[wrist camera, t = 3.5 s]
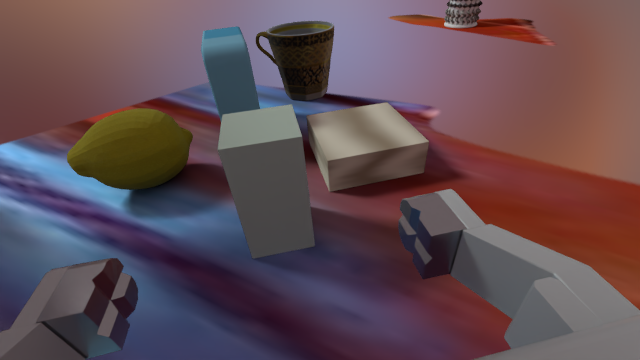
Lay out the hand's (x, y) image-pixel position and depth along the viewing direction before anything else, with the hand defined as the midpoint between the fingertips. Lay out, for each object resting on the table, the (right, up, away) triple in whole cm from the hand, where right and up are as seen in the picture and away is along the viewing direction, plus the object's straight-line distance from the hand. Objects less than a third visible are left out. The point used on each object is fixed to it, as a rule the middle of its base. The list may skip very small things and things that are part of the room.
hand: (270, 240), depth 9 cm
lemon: (-17, +1, +24) cm, 30 cm away
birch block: (+6, +4, +25) cm, 27 cm away
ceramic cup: (-2, +16, +42) cm, 45 cm away
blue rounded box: (-9, +8, +33) cm, 35 cm away
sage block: (-2, -3, +17) cm, 17 cm away
